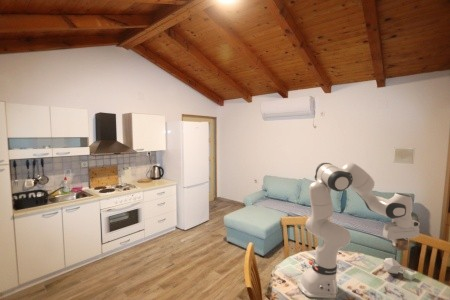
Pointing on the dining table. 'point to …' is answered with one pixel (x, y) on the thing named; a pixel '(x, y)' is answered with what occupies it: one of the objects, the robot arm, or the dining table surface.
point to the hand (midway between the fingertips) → (399, 245)
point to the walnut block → (401, 244)
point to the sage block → (408, 275)
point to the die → (391, 265)
